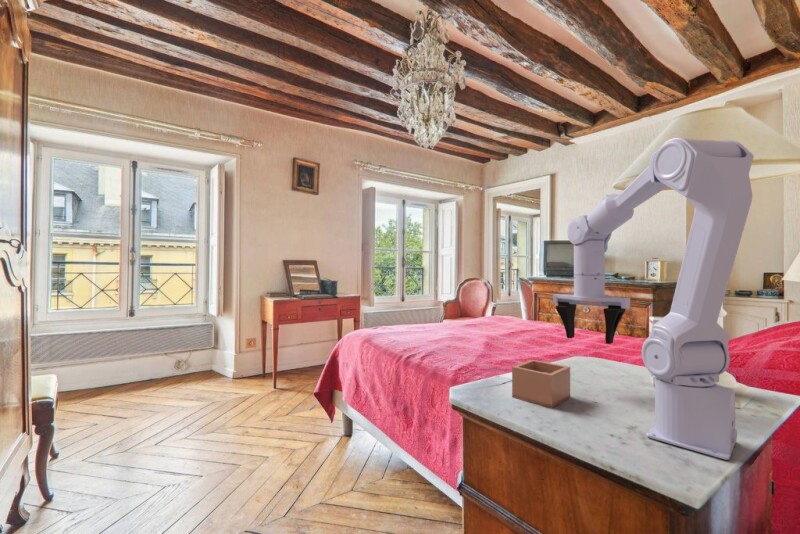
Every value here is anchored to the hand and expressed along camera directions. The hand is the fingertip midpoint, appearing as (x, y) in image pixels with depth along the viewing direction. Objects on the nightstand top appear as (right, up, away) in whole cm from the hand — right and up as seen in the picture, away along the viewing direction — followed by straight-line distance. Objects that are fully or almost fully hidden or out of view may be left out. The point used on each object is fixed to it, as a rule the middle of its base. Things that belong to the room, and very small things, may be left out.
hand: (589, 340), depth 77 cm
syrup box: (+19, -10, +4) cm, 22 cm away
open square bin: (-11, -11, -4) cm, 16 cm away
